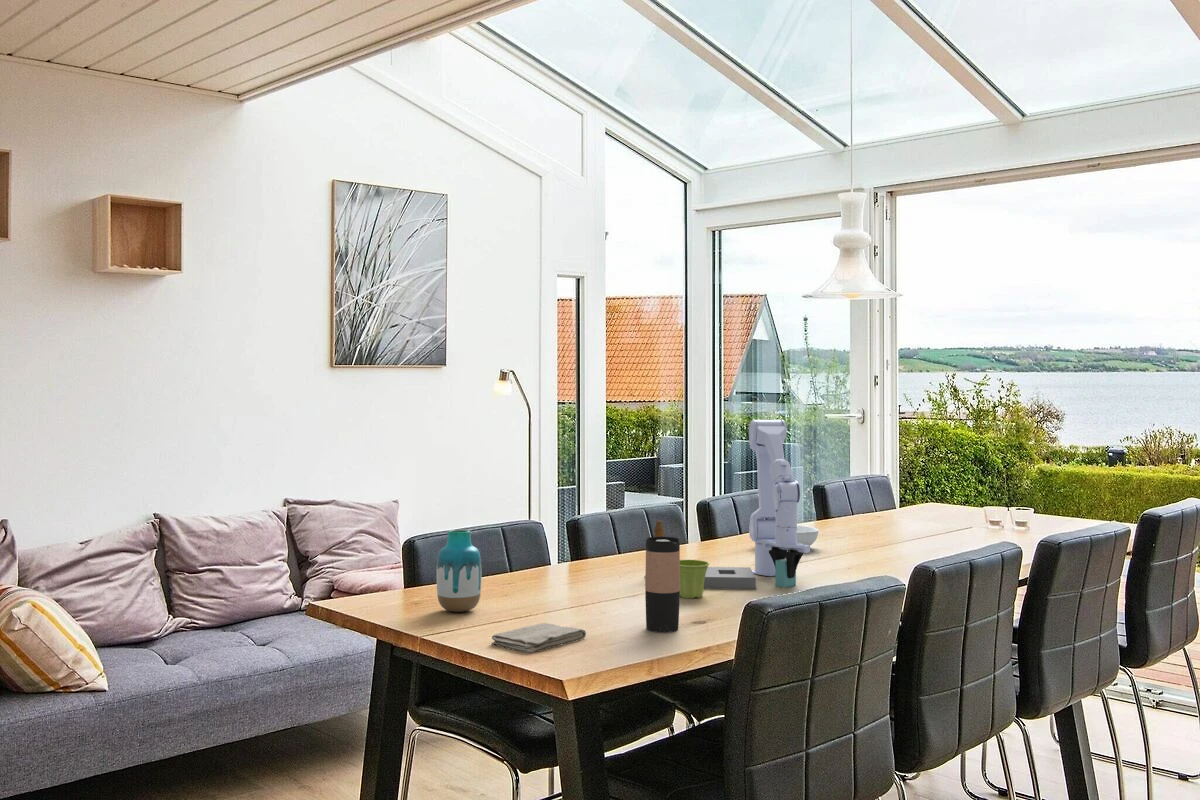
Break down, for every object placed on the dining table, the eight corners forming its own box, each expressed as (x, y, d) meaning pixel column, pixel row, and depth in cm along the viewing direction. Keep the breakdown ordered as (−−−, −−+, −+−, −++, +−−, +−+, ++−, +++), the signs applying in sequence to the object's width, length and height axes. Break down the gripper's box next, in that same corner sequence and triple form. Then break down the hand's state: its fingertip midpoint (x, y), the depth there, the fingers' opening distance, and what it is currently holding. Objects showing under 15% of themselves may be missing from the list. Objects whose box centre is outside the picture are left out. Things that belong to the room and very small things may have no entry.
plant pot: (712, 594, 282) (713, 560, 282) (704, 601, 273) (704, 566, 273) (677, 591, 285) (677, 558, 285) (668, 598, 276) (668, 564, 276)
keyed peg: (786, 583, 297) (787, 557, 297) (795, 585, 295) (796, 559, 295) (775, 586, 294) (775, 559, 294) (784, 587, 291) (784, 561, 291)
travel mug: (643, 625, 246) (643, 536, 245) (676, 624, 246) (677, 536, 246) (647, 633, 238) (647, 541, 238) (682, 632, 239) (682, 541, 238)
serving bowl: (823, 554, 350) (823, 532, 350) (758, 553, 350) (758, 532, 350) (812, 544, 371) (812, 524, 370) (750, 543, 371) (750, 523, 371)
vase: (462, 617, 252) (462, 535, 252) (427, 612, 258) (427, 531, 258) (490, 609, 261) (490, 530, 261) (455, 604, 267) (456, 526, 267)
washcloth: (487, 647, 226) (487, 632, 226) (545, 632, 241) (545, 618, 240) (530, 656, 219) (530, 641, 219) (587, 640, 233) (587, 626, 233)
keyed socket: (699, 577, 306) (699, 566, 306) (749, 578, 305) (750, 567, 305) (702, 588, 290) (702, 576, 290) (755, 588, 289) (755, 577, 289)
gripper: (755, 524, 297) (755, 574, 297) (798, 530, 286) (798, 582, 286) (771, 522, 301) (771, 571, 302) (815, 528, 291) (814, 579, 291)
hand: (785, 576), depth 294 cm, fingers closed on keyed peg, 3 cm apart
